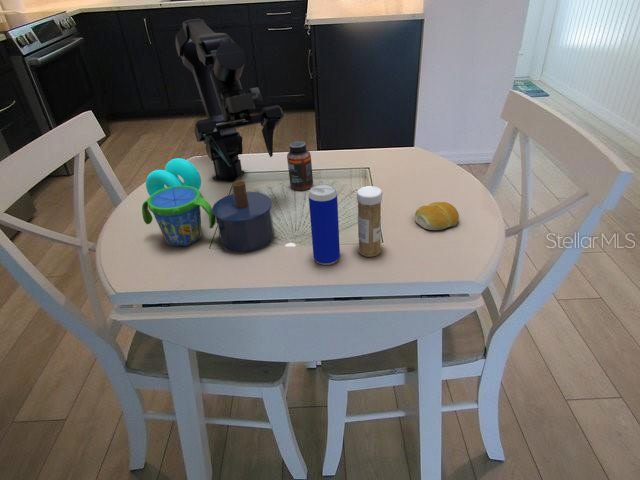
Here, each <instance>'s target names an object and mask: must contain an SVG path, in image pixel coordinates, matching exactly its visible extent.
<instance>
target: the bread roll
mask: <svg viewBox="0 0 640 480" xmlns="http://www.w3.org/2000/svg"><path fill="white" fill-rule="evenodd" d="M459 218H460V213H459V212H458V209H457V208H456V207H455V206H454V205H453V204H451V203H450V202H447V201H435V202H431V203H429V204H427V205H426V204H425V205H421V206H419V207H418V208H417V209H416V211H415V212H414V220H415V223H416V224H418V225H419V226H420V227H422V228H423V229H425V230H429V231H440V230H444V229H447V228H450V227H454V226H456V225H457V224H458V223H459V220H460V219H459Z"/></svg>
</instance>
